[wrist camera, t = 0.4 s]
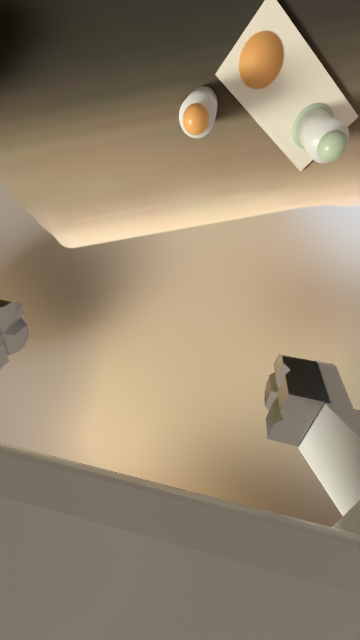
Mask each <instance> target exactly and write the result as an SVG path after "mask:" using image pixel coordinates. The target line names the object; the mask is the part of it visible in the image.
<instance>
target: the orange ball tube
mask: <svg viewBox="0 0 360 640" xmlns="http://www.w3.org/2000/svg"><path fill="white" fill-rule="evenodd" d="M217 107H218V101H217V97H216V94H215V93H214V91H213V90H212V89H211V88H209V87H207V86H199V87H197V88H195V89H194V90H193V91H192V92H191V94H190V95H189V96H188V97H187V98H186V100H185V101H184V102H183V104H182V106H181V108H180V112H179V121H180V125H181V127H182V129H183V131H184V132H185V133H186V134H187V135H188V136H190V137H192V138H201V137H204V136H205V135H207V134H208V133H209V132H210V131H211V129H212V127H213V125H214V122H215V118H216V113H217Z"/></svg>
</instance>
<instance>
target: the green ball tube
mask: <svg viewBox="0 0 360 640" xmlns="http://www.w3.org/2000/svg"><path fill="white" fill-rule="evenodd" d="M296 135H297V138H298V140H299V141H300V143H301V144H302V145H303V147H304V148H305V149H306V151H307V152H308V154H309V155H310V156H311V158H312V159H313V160H314V161H316V162H318V163H328V162H331V161H334V160H336V159H338V158H340V157H341V156H342V155H343V153H344V152H345V150H346V148H347V144H348V142H349V130H348V127H347V126H346V125H345V124H344V123H343V122H341V121H340V120H339V119H337V118H336V117H334V116H333V115H331V114H330V113H328V112H327V111H325V110H324V109H322V108H313V109H311V110H309V111H307V112H306V113H305V114H304V115H303V116H302V117H301V118H300V120H299V122H298V124H297V128H296Z"/></svg>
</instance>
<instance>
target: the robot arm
mask: <svg viewBox="0 0 360 640" xmlns="http://www.w3.org/2000/svg"><path fill="white" fill-rule="evenodd" d="M23 314H24V311H23V308H22V304H20V303H19V302H17V301H14V300H9V299H4V298H0V369H1V368H2V367H3V366H4V365H5V364H6V363H7V362H8V361H9V355H11V354H14V353H16V352H19V351H20V350H21V349H22V348H23V347H24V345H25V343H26V341H27V339H28V332H29V331H28V326H27V324H26V323H25V322H24V320H23V319H22V316H23ZM274 369H275V372H274V373H273V374H271V375H270V376H269V378H268V381H267V385H266V389H265V406H266V408H267V409H268V410H269V412H268V415H267V417H266V424H267V437H268V439H271V440H275V441H279V442H283V443H287V444H290V445H294V446H298V447H299V450H300V451H301V453H302V454H303V456H304V458H305V459H306V461H307V462H308V464H309V465H310V467H311V468H312V470H313V471H314V473H315V474H316V476H317V477H318V479H319V480H320V482H321V484H322V485H323V487H324V488H325V490H326V491H327V493H328V494H329V496H330V497H331V499H332V500H333V502H334V503H335V505H336V506H337V508H338V509H339V511H340V513H341V514H342V515H343V517H342V518H341V519H340V520H339V521H338V522H337V523H336V524H335V525H334V526H333V527H332V528H331V527H327V526H324V525H320V524H315V523H312V522H308V521H304V520H300V519H296V518H292V517H289V516H285V515H281V514H277V513H273V512H269V511H265V510H261V509H257V508H253V507H250V506H245V505H242V504H238V503H234V502H230V501H226V500H222V499H218V498H214V497H211V496H207V495H203V494H198V493H195V492H191V491H187V490H183V489H179V488H175V487H172V486H168V485H163V484H159V483H156V482H152V481H148V480H144V479H140V478H136V477H132V476H128V475H125V474H121V473H117V472H113V471H109V470H105V469H101V468H97V467H93V466H89V465H85V464H82V463H78V462H74V461H70V460H66V459H62V458H58V457H54V456H50V455H47V454H42V453H39V452H35V451H31V450H27V449H23V448H19V447H15V446H11V445H7V444H3V443H0V640H360V410H356V409H353V407H352V404H351V402H350V399H349V397H348V394H347V392H346V390H345V387H344V385H343V382H342V380H341V377H340V375H339V372H338V370H337V367H336V366H335V365H334V364H331V363H325V362H320V361H311V360H306V359H300V358H296V357H291V356H285V355H280V354H279V355H278V357H277V358H276V361H275V363H274Z"/></svg>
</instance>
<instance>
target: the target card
mask: <svg viewBox="0 0 360 640" xmlns="http://www.w3.org/2000/svg"><path fill="white" fill-rule="evenodd" d="M215 75H216V76H217V77H218V78H219V80H220V81H221V82H222V83H223V84H224V85H225V86H226V88H227V89H228V90H229V91H230V92H231V93H232V94H233V95H234V97H235V98H236V99H237V100H238V101H239V102H240V103H241V105H242V106H243V107H244V108H245V109H246V110H247V111H248V112H249V114H250V115H251V116H252V117H253V118H254V119H255V120H256V122H257V123H258V124H259V125H260V126H261V127H262V128H263V130H264V131H265V132H266V133H267V134H268V135H269V136H270V137H271V139H272V140H273V141H274V142H275V143H276V144H277V145H278V147H279V148H280V149H281V150H282V151H283V152H284V153H285V155H286V156H287V157H288V158H289V159H290V160H291V161H292V162H293V164H294V165H295V166H296V167H297V168H298V169H299V170H300V171H301V170H302V169H304V168H305V167H306V166H307V165H308V164H309V163H310V162H311V161H312V160H313V159H312V158H311V156H310V155H309V154H308V152H307V151H306V149H305V148H304V147H303V145H302V144H301V143H300V141H299V140H298V138H297V135H296V128H297V124H298V122H299V120H300V118H301V117H302V116H303V115H304V114H305V113H306V112H307V111H309V110H311V109H313V108H322V109H324V110H325V111H327V112H328V113H330V114H331V115H333V116H334V117H336V118H337V119H339V120H340V121H341V122H343V123H344V124H345V125H346V126H347V127H348V126H349V125H350V124H351V123H352V122H353V121H354V120H356V119H357V118H358V117H359V116H358V115H357V114H356V112H355V111H354V109H353V108H352V106H351V105H350V104H349V102H348V101H347V99H346V98H345V97H344V95H343V94H342V92H341V91H340V89H339V88H338V87H337V85H336V84H335V82H334V81H333V79H332V78H331V77H330V75H329V74H328V72H327V71H326V70H325V68H324V67H323V65H322V64H321V62H320V61H319V60H318V58H317V57H316V55H315V54H314V52H313V51H312V50H311V48H310V47H309V45H308V44H307V43H306V41H305V40H304V38H303V37H302V35H301V34H300V33H299V31H298V30H297V28H296V27H295V26H294V24H293V23H292V21H291V20H290V18H289V17H288V16H287V14H286V13H285V11H284V10H283V8H282V7H281V6H280V4H279V3H278V1H277V0H265V1H264V2H263V4H262V5H261V7H260V8H259V10H258V11H257V13H256V14H255V16H254V17H253V19H252V20H251V22H250V23H249V25H248V26H247V28H246V29H245V31H244V32H243V34H242V35H241V37H240V38H239V40H238V41H237V43H236V44H235V46H234V47H233V49H232V50H231V52H230V53H229V55H228V56H227V58H226V59H225V61H224V62H223V64H222V65H221V67H220V68H219V69H218V71H217V72H216V74H215Z"/></svg>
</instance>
